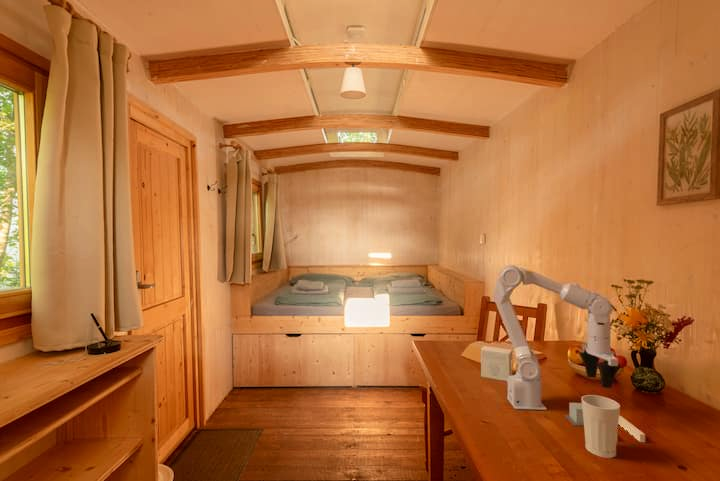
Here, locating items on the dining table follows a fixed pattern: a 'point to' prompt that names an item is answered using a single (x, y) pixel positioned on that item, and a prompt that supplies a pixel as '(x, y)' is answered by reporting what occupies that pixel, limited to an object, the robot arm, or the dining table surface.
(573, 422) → the mat
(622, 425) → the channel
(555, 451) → the dining table surface
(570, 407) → the block
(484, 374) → the skincare box
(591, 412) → the cup
